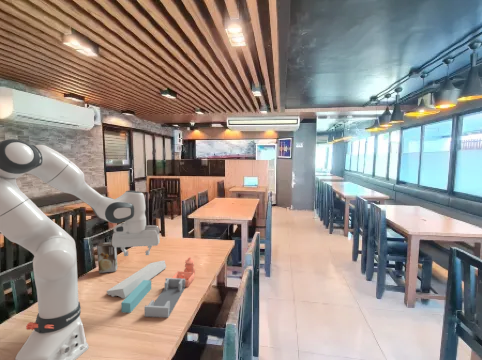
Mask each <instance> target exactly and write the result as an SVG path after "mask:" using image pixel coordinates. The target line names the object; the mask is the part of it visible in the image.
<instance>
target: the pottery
mask: <svg viewBox="0 0 482 360" xmlns="http://www.w3.org/2000/svg"><path fill="white" fill-rule="evenodd" d="M184 264H185V265H184V269H183V271H180V270H179V271H178V270H177V272H175V274H174V275H173V276H172V277H171V278H179V279H185V288H189V287H190V286H191V284H192V283H193V281H195V275H196V269H195V261H194V259H193V258H192V257H187V259H186V260H185V263H184Z"/></svg>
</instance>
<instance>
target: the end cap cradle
mask: <svg viewBox="0 0 482 360" xmlns="http://www.w3.org/2000/svg"><path fill="white" fill-rule="evenodd" d="M185 280H186V279H182V278H172V277H165V281H164V288H163V289H162V291H161V292H160V293H159V295H158V296H157V298H156V299H155V300H154V299H151V301H150V302H149V303H148V305H146V304H145V305H144V307H143V309H144V318H163V319H165V318H167V319H168V318H170V316H171V313H172V312H173V311H174V309H175V307H176V304H177V303H178V301H179V299H180V298H181V297H182V294H183V292H184V291H185V288H186V287H185Z"/></svg>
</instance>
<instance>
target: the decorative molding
mask: <svg viewBox="0 0 482 360" xmlns="http://www.w3.org/2000/svg"><path fill="white" fill-rule="evenodd" d="M166 268H167V264H166V260H159V261H154V262H150V263H148V264H147V265H145V266H144V267H142V268H140V269H139V270H138V271H136V272H134V273H133V274H131V275H130V276H129V277H127V278H125V279H123V280H122V281H120V282H119V283H116V285H114V286H112V287H111V288H108V290H106V293H107V295H108V296H111V298H112V297H113V298H114V297H117V296H118V297H119V298H121V299H123V300H125V299H126V298H127V297H128V296H129V294H130V293H131V292H132V291H133V290H134V289H135V288H136V287H137V286H138V285H139V284H140V283H141V282H142V281H143V280H151V279H153V278H154V277H156V276H157V275H158V274H160V273H162V272H163V271H164V270H165V269H166Z"/></svg>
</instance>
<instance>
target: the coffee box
mask: <svg viewBox="0 0 482 360" xmlns="http://www.w3.org/2000/svg"><path fill="white" fill-rule="evenodd" d="M96 248H97V259H98V260H97V263H98V264H97V265H98V273H99V274H104V273H111V272H117V269H118V267H119V266H118V254H117V252H118V250H117V248H118V247H113V246H112V241H107V242H99V244H98V245H97V247H96Z"/></svg>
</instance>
